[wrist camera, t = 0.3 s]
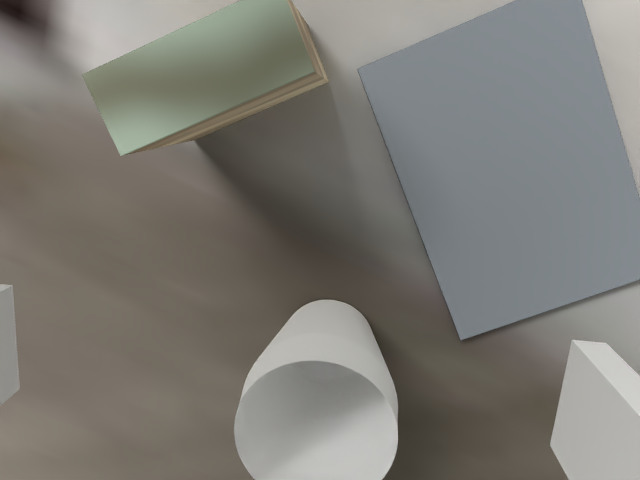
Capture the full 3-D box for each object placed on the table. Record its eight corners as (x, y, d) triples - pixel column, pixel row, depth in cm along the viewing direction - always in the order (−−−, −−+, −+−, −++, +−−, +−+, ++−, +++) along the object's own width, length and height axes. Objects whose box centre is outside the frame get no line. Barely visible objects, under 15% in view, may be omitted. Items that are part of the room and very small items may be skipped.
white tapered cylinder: (305, 260, 39) (282, 325, 28) (413, 323, 40) (435, 413, 28) (246, 358, 42) (201, 457, 30) (349, 417, 42) (344, 536, 30)
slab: (169, 84, 37) (81, 74, 25) (305, 22, 36) (279, -18, 24) (194, 139, 38) (120, 155, 26) (329, 81, 36) (314, 71, 25)
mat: (357, 69, 36) (357, 68, 35) (570, -23, 34) (574, -25, 33) (459, 336, 40) (460, 340, 39) (656, 269, 38) (661, 272, 37)
